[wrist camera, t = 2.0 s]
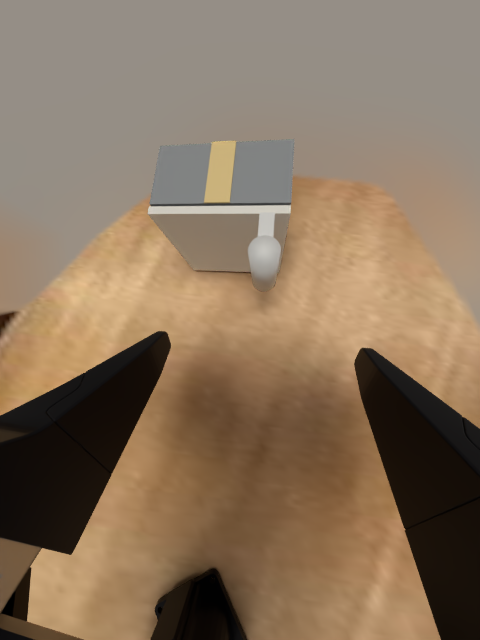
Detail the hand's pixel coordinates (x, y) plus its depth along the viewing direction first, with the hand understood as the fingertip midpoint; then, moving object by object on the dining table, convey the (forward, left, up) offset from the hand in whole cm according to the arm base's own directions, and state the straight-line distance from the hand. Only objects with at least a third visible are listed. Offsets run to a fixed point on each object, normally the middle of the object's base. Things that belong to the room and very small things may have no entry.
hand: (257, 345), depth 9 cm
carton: (+12, -4, -12) cm, 18 cm away
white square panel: (+8, -1, -12) cm, 14 cm away
